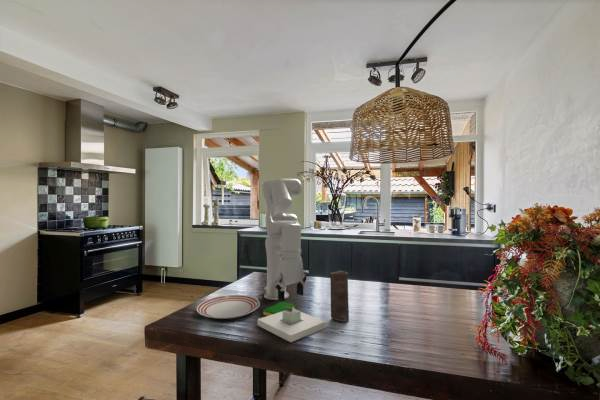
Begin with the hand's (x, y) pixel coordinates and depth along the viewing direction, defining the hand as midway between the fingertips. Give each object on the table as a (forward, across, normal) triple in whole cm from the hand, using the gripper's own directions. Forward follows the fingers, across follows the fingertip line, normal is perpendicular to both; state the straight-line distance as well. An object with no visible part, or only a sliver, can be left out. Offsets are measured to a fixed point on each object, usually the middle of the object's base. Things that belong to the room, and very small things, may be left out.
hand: (290, 297), depth 121 cm
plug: (+11, +1, +1) cm, 11 cm away
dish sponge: (+12, -6, -15) cm, 20 cm away
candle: (+11, -18, +10) cm, 24 cm away
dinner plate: (+12, +10, -31) cm, 35 cm away
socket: (+11, +1, +1) cm, 11 cm away
